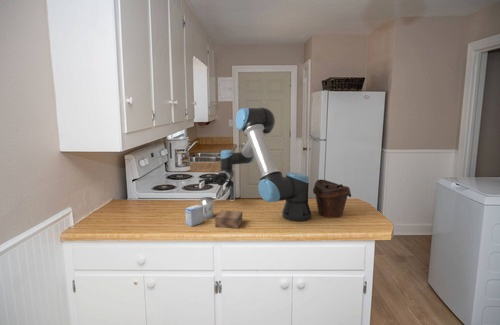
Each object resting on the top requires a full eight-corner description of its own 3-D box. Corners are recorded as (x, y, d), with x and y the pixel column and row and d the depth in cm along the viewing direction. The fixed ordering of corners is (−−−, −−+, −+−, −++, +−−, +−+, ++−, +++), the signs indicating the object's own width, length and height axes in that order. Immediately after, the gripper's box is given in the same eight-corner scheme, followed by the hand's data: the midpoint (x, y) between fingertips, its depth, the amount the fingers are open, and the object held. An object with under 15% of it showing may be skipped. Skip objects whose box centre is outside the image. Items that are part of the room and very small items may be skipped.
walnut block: (242, 221, 176) (242, 211, 175) (237, 228, 165) (237, 218, 164) (221, 219, 178) (221, 210, 177) (215, 227, 167) (215, 217, 166)
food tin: (215, 215, 184) (214, 197, 183) (211, 219, 178) (211, 200, 176) (203, 214, 186) (202, 196, 184) (199, 218, 179) (198, 200, 177)
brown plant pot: (351, 220, 176) (353, 186, 173) (311, 218, 180) (312, 184, 177) (348, 210, 193) (350, 179, 191) (312, 208, 197) (313, 178, 195)
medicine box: (197, 220, 176) (197, 204, 175) (203, 222, 173) (203, 206, 172) (185, 224, 170) (184, 208, 169) (191, 227, 167) (190, 209, 166)
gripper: (242, 185, 208) (234, 194, 188) (202, 183, 213) (190, 191, 192) (242, 173, 207) (234, 181, 186) (202, 171, 211) (190, 178, 191)
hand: (211, 186), depth 189 cm, fingers open, 13 cm apart
